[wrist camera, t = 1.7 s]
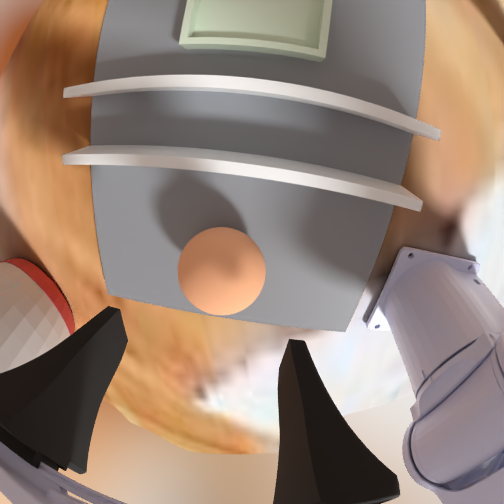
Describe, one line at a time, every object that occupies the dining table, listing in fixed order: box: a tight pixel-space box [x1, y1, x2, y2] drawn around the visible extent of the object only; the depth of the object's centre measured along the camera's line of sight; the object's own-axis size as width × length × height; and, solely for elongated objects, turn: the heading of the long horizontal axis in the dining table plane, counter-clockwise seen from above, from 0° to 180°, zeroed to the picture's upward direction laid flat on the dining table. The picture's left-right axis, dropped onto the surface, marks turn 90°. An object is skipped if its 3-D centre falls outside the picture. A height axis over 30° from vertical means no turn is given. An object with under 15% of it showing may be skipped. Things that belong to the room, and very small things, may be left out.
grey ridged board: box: [62, 0, 441, 332], centre depth 13 cm, size 20×26×4 cm
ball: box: [178, 227, 266, 315], centre depth 15 cm, size 5×5×5 cm
